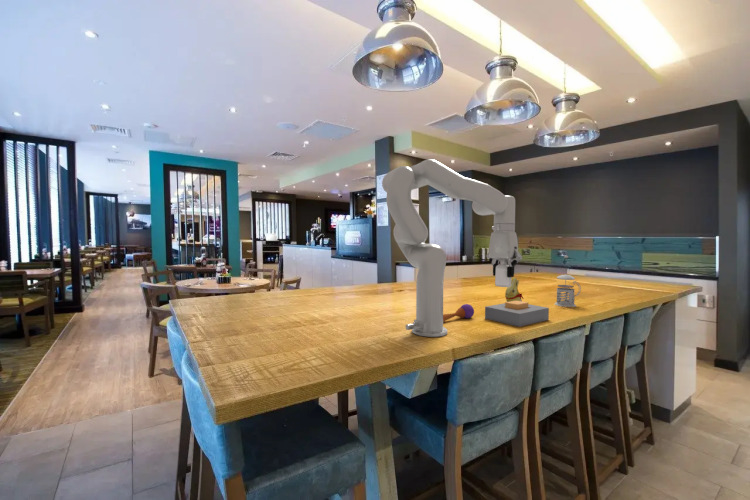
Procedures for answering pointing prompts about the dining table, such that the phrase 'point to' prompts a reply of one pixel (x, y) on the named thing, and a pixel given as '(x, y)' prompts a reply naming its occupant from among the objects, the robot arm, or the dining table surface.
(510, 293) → the chocolate bunny
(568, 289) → the french press
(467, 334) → the dining table surface
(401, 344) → the dining table surface
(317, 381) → the dining table surface
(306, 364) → the dining table surface
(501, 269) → the eye dropper bottle
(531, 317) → the box
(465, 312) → the purple maraca
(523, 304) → the button
